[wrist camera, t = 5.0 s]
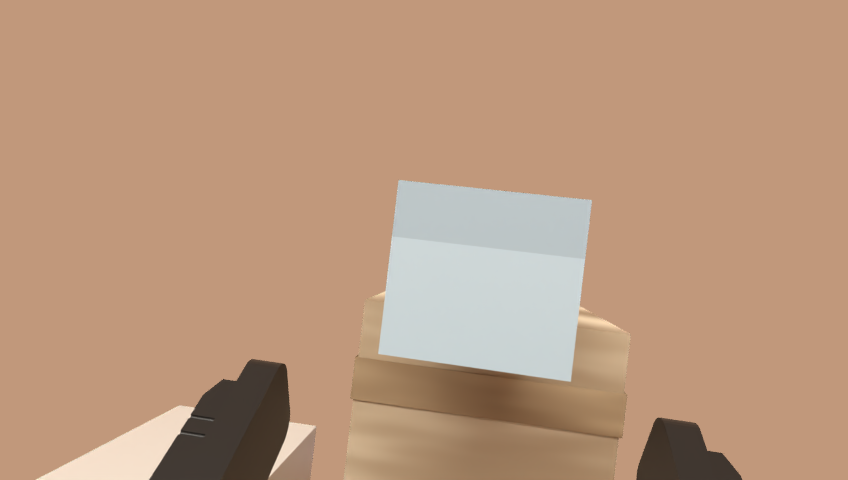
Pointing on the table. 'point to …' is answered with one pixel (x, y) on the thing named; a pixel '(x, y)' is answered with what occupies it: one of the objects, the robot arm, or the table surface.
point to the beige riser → (147, 444)
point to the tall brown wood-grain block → (486, 413)
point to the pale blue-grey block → (485, 279)
